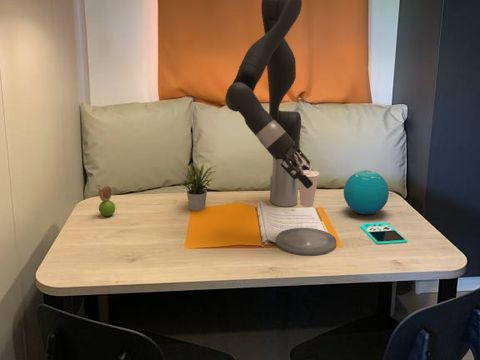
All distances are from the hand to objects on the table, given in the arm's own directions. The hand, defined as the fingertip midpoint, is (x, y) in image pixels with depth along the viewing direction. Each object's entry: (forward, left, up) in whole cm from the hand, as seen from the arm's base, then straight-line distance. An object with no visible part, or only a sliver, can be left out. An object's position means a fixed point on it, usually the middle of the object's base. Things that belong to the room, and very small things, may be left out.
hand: (313, 183), depth 160 cm
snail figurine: (-59, -37, -19) cm, 72 cm away
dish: (-1, -1, -19) cm, 19 cm away
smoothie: (-1, -1, -7) cm, 7 cm away
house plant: (-45, -8, -19) cm, 50 cm away
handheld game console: (+9, +23, -20) cm, 32 cm away
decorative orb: (-6, +33, -19) cm, 39 cm away
